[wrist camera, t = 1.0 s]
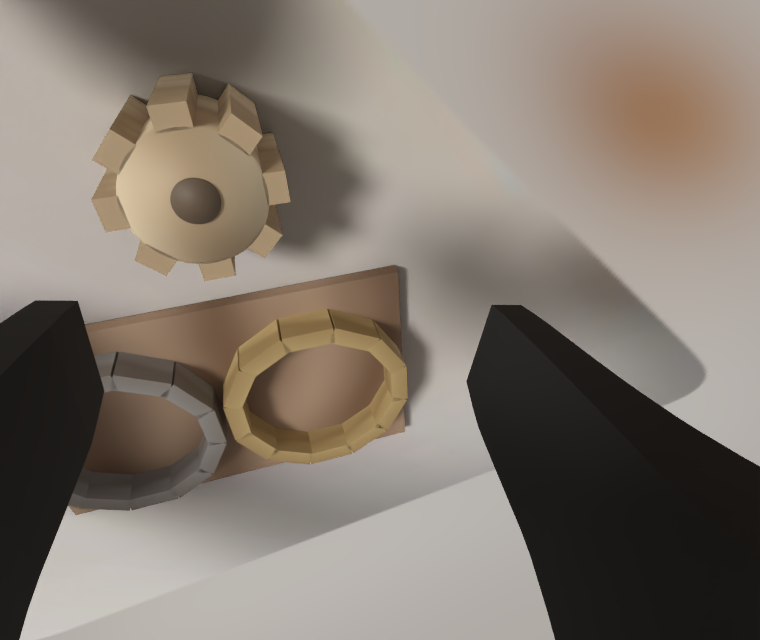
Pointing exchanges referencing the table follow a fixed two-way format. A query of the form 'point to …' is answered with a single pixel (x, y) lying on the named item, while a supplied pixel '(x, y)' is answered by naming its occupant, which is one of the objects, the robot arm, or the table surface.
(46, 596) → the table surface
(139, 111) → the gear
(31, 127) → the table surface
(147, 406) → the gear board
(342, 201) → the table surface
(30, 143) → the table surface
